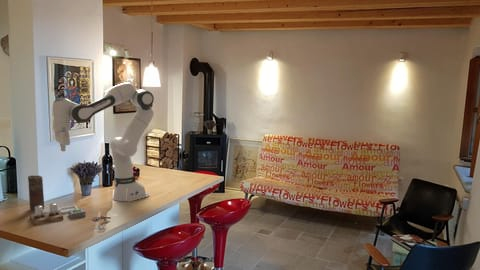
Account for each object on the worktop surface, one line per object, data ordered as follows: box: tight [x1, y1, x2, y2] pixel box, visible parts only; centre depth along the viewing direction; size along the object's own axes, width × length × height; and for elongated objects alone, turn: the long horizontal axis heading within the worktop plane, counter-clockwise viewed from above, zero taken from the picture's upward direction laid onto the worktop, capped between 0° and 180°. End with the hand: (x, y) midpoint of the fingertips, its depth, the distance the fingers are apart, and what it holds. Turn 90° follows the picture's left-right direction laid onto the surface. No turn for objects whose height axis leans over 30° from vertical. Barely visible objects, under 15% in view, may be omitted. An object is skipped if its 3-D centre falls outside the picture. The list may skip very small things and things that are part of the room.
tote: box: [57, 205, 79, 215], centre depth 210 cm, size 9×8×2 cm
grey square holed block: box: [68, 207, 86, 219], centre depth 203 cm, size 7×7×3 cm
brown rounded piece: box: [27, 175, 45, 212], centre depth 211 cm, size 8×7×20 cm
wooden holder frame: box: [29, 209, 64, 226], centre depth 197 cm, size 14×12×2 cm
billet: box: [49, 202, 58, 216], centre depth 198 cm, size 4×4×8 cm
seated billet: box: [34, 205, 44, 219], centre depth 194 cm, size 4×4×8 cm
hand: (63, 150), depth 211 cm, fingers closed
